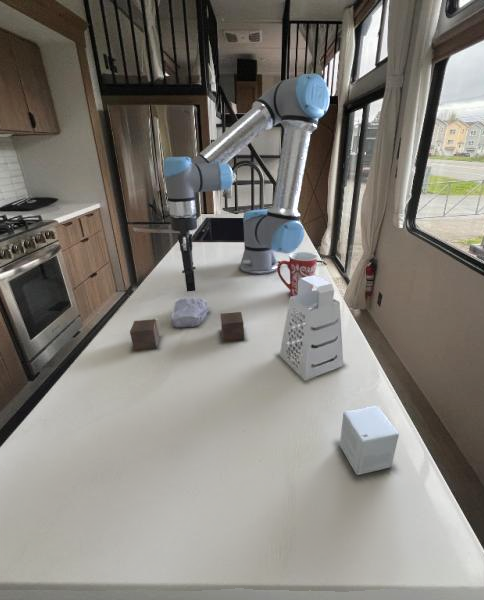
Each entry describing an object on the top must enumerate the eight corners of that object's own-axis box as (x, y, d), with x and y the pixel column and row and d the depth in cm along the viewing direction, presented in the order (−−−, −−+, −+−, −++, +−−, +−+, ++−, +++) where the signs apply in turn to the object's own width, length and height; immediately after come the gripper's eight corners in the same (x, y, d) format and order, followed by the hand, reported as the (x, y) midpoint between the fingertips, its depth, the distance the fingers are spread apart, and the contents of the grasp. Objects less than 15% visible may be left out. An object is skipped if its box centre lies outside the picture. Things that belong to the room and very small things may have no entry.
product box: (392, 468, 50) (400, 434, 47) (356, 476, 49) (361, 442, 46) (371, 437, 55) (377, 404, 52) (338, 443, 54) (342, 411, 51)
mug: (313, 288, 112) (315, 251, 106) (316, 300, 104) (319, 260, 98) (276, 289, 112) (277, 251, 106) (277, 300, 104) (277, 260, 98)
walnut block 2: (241, 329, 88) (241, 311, 86) (244, 340, 83) (243, 321, 81) (221, 331, 88) (220, 313, 85) (222, 342, 83) (221, 323, 80)
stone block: (208, 312, 101) (175, 308, 100) (209, 298, 99) (176, 294, 98) (205, 333, 91) (169, 329, 89) (207, 319, 89) (170, 314, 87)
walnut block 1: (159, 337, 86) (156, 318, 83) (156, 348, 81) (153, 329, 78) (138, 339, 85) (134, 320, 83) (134, 350, 80) (129, 331, 78)
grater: (305, 380, 69) (310, 295, 60) (279, 355, 77) (280, 277, 68) (343, 365, 73) (353, 284, 64) (315, 343, 81) (320, 268, 73)
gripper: (171, 211, 98) (180, 283, 109) (167, 220, 87) (177, 299, 97) (196, 210, 99) (203, 281, 109) (195, 219, 88) (203, 298, 98)
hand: (191, 290), depth 103 cm, fingers closed
